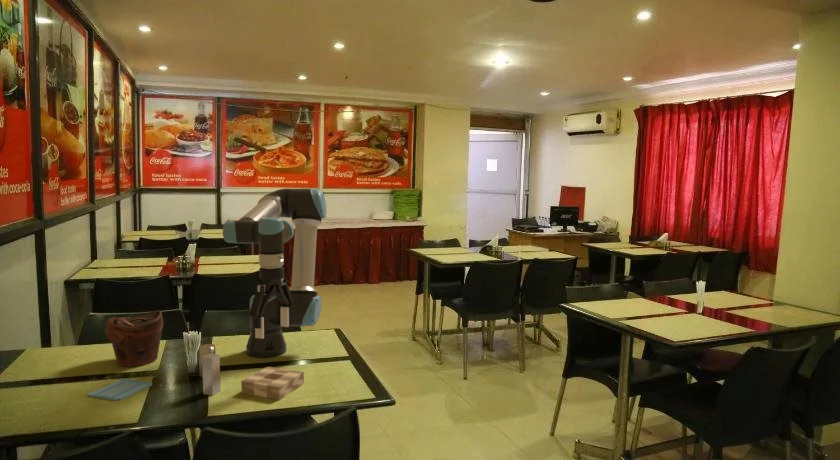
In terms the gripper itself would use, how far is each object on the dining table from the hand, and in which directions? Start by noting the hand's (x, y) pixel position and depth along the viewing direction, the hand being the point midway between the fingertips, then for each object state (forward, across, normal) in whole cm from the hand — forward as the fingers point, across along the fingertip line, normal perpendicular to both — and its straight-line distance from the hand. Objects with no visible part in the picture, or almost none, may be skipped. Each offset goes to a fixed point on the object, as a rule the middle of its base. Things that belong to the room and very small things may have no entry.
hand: (272, 332), depth 177 cm
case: (+19, +3, +61) cm, 64 cm away
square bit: (+19, -10, +16) cm, 27 cm away
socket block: (+19, 0, 0) cm, 19 cm away
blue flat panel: (+19, -19, +44) cm, 52 cm away
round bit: (+19, +2, +28) cm, 34 cm away
